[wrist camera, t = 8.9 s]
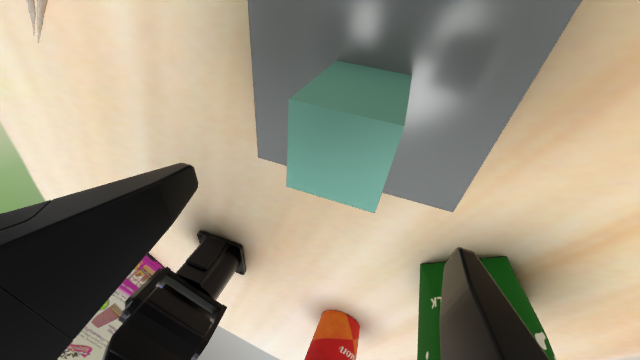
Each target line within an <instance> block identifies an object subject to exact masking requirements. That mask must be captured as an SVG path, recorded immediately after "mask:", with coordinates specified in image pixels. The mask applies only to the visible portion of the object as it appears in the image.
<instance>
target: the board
mask: <svg viewBox="0 0 640 360" xmlns="http://www.w3.org/2000/svg"><path fill="white" fill-rule="evenodd" d="M581 1H582V0H248V11H249V26H250V41H251V56H252V71H253V86H254V101H255V116H256V131H257V146H258V158H262V159H265V160H269V161H272V162H276V163H279V164H283V165H286V166H287V146H288V108H289V99H290V98H291V97H292V96H293V95H295V94H296V93H297V92H298V91H299V90H301V89H302V88H303V87H304V86H306V85H307V84H308V83H309V82H311V81H312V80H313V79H314V78H316V77H317V76H318V75H319V74H320V73H322V72H323V71H324V70H325V69H327V68H328V67H329V66H330V65H332V64H333V63H334V62H335V61H341V62H346V63H351V64H356V65H361V66H366V67H371V68H376V69H381V70H387V71H392V72H397V73H402V74H407V75H412V80H411V87H410V94H409V100H408V107H407V113H406V120H405V126H404V129H403V132H402V135H401V138H400V141H399V144H398V147H397V150H396V153H395V156H394V159H393V161H392V164H391V167H390V170H389V173H388V176H387V179H386V182H385V185H384V188H383V191H382V193H386V194H390V195H393V196H397V197H400V198H404V199H407V200H411V201H414V202H418V203H422V204H425V205H429V206H432V207H436V208H439V209H443V210H446V211H450V212H453V211H454V210H455V208H456V207H457V205H458V203H459V202H460V200H461V198H462V197H463V195H464V193H465V192H466V190H467V188H468V187H469V185H470V183H471V182H472V180H473V179H474V177H475V175H476V174H477V172H478V170H479V169H480V167H481V165H482V164H483V162H484V160H485V159H486V157H487V156H488V154H489V152H490V151H491V149H492V147H493V146H494V144H495V142H496V141H497V139H498V137H499V136H500V134H501V133H502V131H503V129H504V128H505V126H506V124H507V123H508V121H509V119H510V118H511V116H512V114H513V113H514V111H515V110H516V108H517V106H518V105H519V103H520V101H521V100H522V98H523V96H524V95H525V93H526V91H527V90H528V88H529V87H530V85H531V83H532V82H533V80H534V78H535V77H536V75H537V73H538V72H539V70H540V68H541V67H542V65H543V63H544V62H545V60H546V59H547V57H548V55H549V54H550V52H551V50H552V49H553V47H554V45H555V44H556V42H557V40H558V39H559V37H560V36H561V34H562V32H563V31H564V29H565V27H566V26H567V24H568V22H569V21H570V19H571V17H572V16H573V14H574V13H575V11H576V9H577V8H578V6H579V4H580V3H581Z"/></svg>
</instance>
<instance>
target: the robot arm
mask: <svg viewBox="0 0 640 360" xmlns="http://www.w3.org/2000/svg"><path fill="white" fill-rule="evenodd" d="M197 188H198V180H197V177H196V173H195V169H194V167H193V166H191V165H188V164H185V163H178V164H175V165H171V166H168V167H164V168H161V169H157V170H154V171H150V172H147V173H143V174H140V175H136V176H133V177H129V178H126V179H122V180H119V181H115V182H112V183H108V184H105V185H102V186H98V187H95V188H91V189H88V190H84V191H81V192H77V193H74V194H70V195H67V196H63V197H60V198H56V199H53V200H52V201H51V200H49V201H46V202H42V203H39V204H35V205H32V206H28V207H24V208H21V209H17V210H14V211H10V212H6V213H2V214H0V360H57V359H58V358H59V357H60V356H61V355H62V353H63V352H64V351H65V350H66V349H67V347H68V346H69V345H70V344H71V343H72V342H73V339H75V338H76V337H77V335H78V334H79V333H80V332H81V331H82V330H83V328H84V327H85V326H86V325H87V324H88V323H89V321H90V320H91V319H92V318H93V317H94V316H95V314H96V313H97V312H98V311H99V310H100V309H101V307H102V306H103V305H104V304H105V303H106V301H107V300H108V299H109V298H110V297H111V296H112V294H113V293H114V292H115V291H116V290H117V289H118V287H119V286H120V285H121V284H122V283H123V282H124V280H125V279H126V278H127V277H128V276H129V275H130V273H131V272H132V271H133V270H134V269H135V268H136V266H137V265H138V264H139V263H140V262H141V260H142V259H143V258H144V257H145V256H146V255H147V253H148V252H149V251H150V250H151V249H152V248H153V246H154V245H155V244H156V243H157V242H158V241H159V239H160V238H161V237H162V236H163V235H164V234H165V232H166V231H167V230H168V229H169V228H170V226H171V225H172V224H173V223H174V221H175V220H176V219H177V217H178V216H179V214H180V213H181V212H182V210H183V209H184V207H185V206H186V204H187V203H188V201H189V200H190V199H191V197H192V196H193V194H194V193H195V191H196V190H197ZM197 236H198V239H199V242H200V245H199V246H198V247H197V249H196V250H195V251H194V252H193V253H192V254H191V255H190V257H189V258H188V259H187V260H186V262H185V263H184V264H183V266H182V267H181V268H180V269H179V270H178V271H177V272H176V273H174V272H173V271H171V269H170V268H168V267H166V268H165V269H160V268H159V269H158V270H157V271H156V272H155V273H154V274H153V275H152V276H151V277H150V278H149V279H148V280H147V281H146V282H145V283H144V284H143V285H142V286H141V287H140V288H138V289H137V290H136V291H135V292H134V293H133V294H132V295H131V296H130V297H129V298H128V299H127V300H126V301H125V309H124V310H123V312H122V313H123V314H122V315H121V316H120V317H119V319H118V321H120V322H121V323H123V324H122V325H121V326H120V327H119V328H118V329H117V331H116V332H115V333H114V334H113V335H112V337H111V339H110V341H109V342H108V344H107V346H106V348H105V352H104V355H103V358H102V360H196V359H197V358H198V357H199V356H200V354H201V353H202V351H203V350H204V348H205V347H206V345H207V344H208V342H209V340H210V338H211V337H212V335H213V333H214V331H215V329H216V327H217V325H218V324H219V322H220V320H221V318H222V316H223V314H224V312H225V310H226V309H227V307H226V306H225V305H222V304H220V303H219V302H217V301H216V299H217V298H218V296H219V295H220V293H221V292H222V291H223V289H224V288H225V286H226V285H227V283H228V282H229V280H230V279H231V277H232V276H233V274H234V273H235V272H236V273H239V274H241V275H244V274H245V272H246V270H245V263H244V257H243V251H242V247H241V246H240V245H238V244H236V243H233V242H230V241H227V240H225V239H222V238H219V237H216V236H213V235H211V234H208V233H205V232H202V231H199V232H198V233H197ZM159 285H161V286H162V288H160V287H158V286H159ZM440 350H441V360H550V359H549V358H548V356H547V355H546V354H545V352H544V351H543V349H542V348H541V346H540V345H539V344H538V342H537V341H536V339H535V338H534V337H533V335H532V334H531V332H530V331H529V329H528V328H527V327H526V325H525V324H524V322H523V321H522V319H521V318H520V317H519V315H518V314H517V312H516V311H515V310H514V308H513V307H512V305H511V304H510V302H509V301H508V300H507V298H506V297H505V295H504V294H503V292H502V291H501V290H500V288H499V287H498V285H497V284H496V283H495V281H494V280H493V278H492V277H491V275H490V274H489V273H488V271H487V270H486V268H485V267H484V265H483V264H482V263H481V261H480V260H479V258H478V257H477V256H476V254H475V253H474V252H472V251H470V250H467V249H463V248H457V249H456V250H455V251H454V252H453V254H452V255H451V257H450V258H449V259H448V261H447V262H446V264H445V267H444V274H443V285H442V297H441V308H440Z"/></svg>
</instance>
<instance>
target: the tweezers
mask: <svg viewBox="0 0 640 360" xmlns="http://www.w3.org/2000/svg"><path fill="white" fill-rule="evenodd" d="M27 3H28V9H29V13H30V17H31V21H32V26H33V33H34V36H35V16H36V13H35V6H34V0H27ZM46 3H47V0H37V32H38V43H39V40H40V35H41V29H42V24H43V17H44V12H45V7H46Z"/></svg>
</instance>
